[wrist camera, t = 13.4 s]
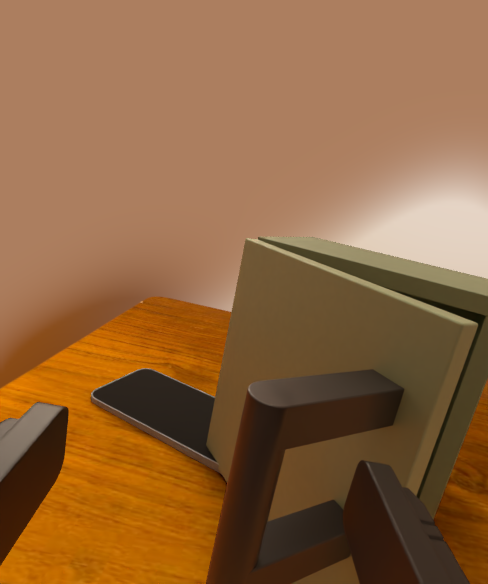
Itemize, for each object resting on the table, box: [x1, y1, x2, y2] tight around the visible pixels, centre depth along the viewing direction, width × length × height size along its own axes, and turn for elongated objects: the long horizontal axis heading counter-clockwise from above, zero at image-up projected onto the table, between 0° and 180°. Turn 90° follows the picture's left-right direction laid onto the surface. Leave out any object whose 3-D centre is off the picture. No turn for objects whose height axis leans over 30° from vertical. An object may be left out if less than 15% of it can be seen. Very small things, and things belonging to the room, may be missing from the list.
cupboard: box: [258, 237, 488, 519], centre depth 28 cm, size 10×14×16 cm
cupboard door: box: [206, 238, 478, 584], centre depth 19 cm, size 7×14×16 cm, turn 30°
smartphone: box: [91, 368, 221, 474], centre depth 32 cm, size 7×1×15 cm
